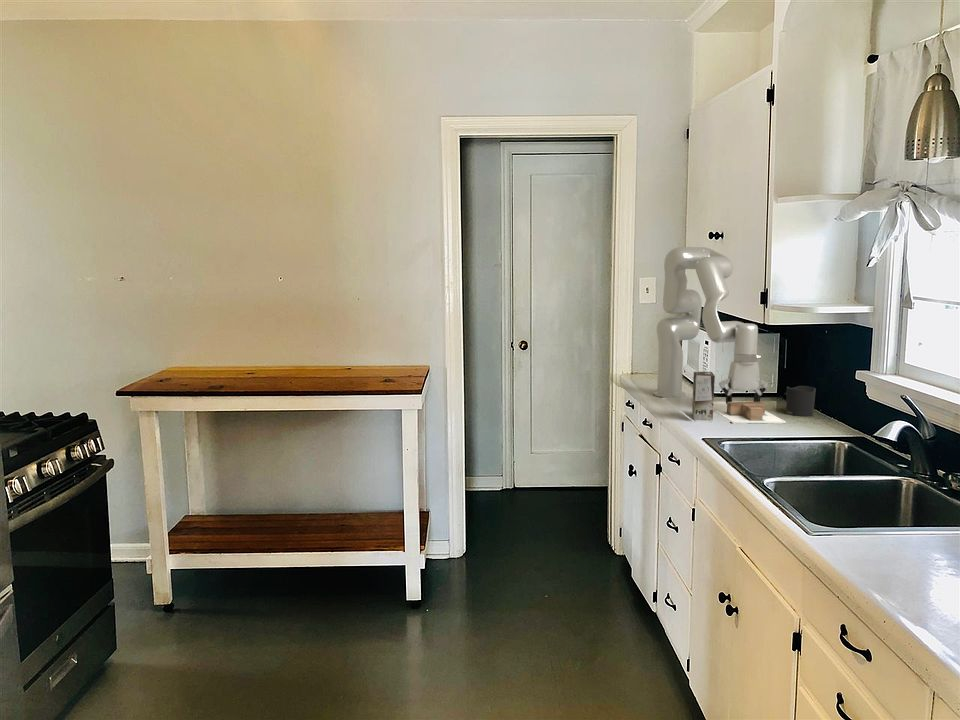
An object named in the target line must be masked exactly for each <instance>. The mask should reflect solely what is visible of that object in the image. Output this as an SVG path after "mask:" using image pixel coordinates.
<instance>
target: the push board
mask: <svg viewBox="0 0 960 720" xmlns="http://www.w3.org/2000/svg"><path fill="white" fill-rule="evenodd" d="M713 411H714V412H716V413H717V414H719V415H721V416H723V417H724V418H725V419H727V420H729V422H730V423H731V424H733V425H734V424H735V425H738V424H739V425H740V424H741V425H742V424H743V425H744V424H745V425H748V424H747V423H768V424H786V423H787V422H786V421H785V420H784V419H782V418H779V417H778V416H776V415H774V414H772V413H771V412H769V411H767V410H765V415H763V418H762V420H749V419H747V418H746V417H744V416H742V415H729V414H727V404H726V401H714V402H713Z"/></svg>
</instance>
